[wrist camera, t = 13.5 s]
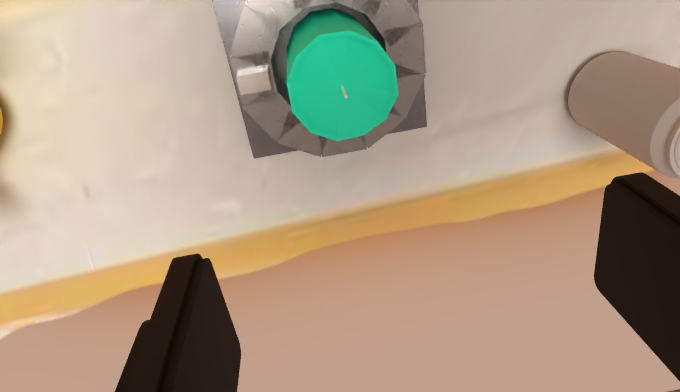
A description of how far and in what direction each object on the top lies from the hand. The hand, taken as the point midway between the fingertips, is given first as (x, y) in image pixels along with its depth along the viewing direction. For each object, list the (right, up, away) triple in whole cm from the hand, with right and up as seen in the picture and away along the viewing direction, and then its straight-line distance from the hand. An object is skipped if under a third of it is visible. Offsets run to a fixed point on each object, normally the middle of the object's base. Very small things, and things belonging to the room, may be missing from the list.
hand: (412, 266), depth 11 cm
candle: (-3, +12, +24) cm, 27 cm away
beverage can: (+20, +11, +28) cm, 36 cm away
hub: (-3, +13, +25) cm, 28 cm away
